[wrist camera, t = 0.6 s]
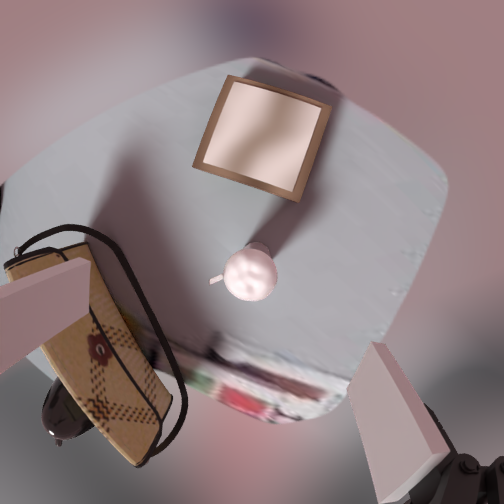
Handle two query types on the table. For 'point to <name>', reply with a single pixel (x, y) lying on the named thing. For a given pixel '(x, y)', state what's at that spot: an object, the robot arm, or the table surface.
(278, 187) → the dock
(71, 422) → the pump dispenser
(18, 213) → the table surface
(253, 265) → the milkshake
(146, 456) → the clutch purse
